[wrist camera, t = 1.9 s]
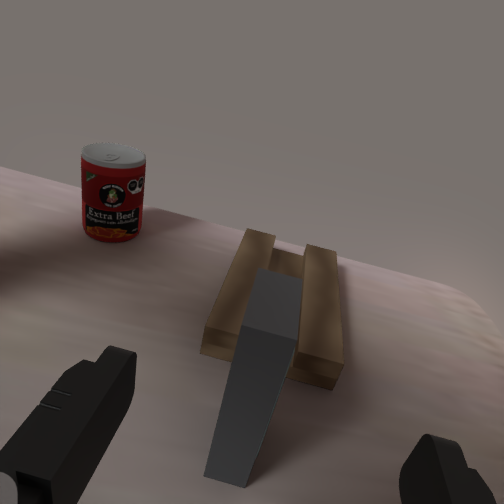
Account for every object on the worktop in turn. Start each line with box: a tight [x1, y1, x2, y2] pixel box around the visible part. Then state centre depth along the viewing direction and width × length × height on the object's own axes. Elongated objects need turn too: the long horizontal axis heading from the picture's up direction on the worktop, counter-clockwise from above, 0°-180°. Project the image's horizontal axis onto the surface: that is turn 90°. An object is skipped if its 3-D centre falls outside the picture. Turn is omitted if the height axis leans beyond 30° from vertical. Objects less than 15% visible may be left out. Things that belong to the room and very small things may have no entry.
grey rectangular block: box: [204, 268, 303, 488], centre depth 26 cm, size 3×6×14 cm, turn 170°
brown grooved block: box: [200, 229, 344, 390], centre depth 45 cm, size 13×22×4 cm, turn 170°
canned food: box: [81, 143, 146, 242], centre depth 50 cm, size 8×8×11 cm
